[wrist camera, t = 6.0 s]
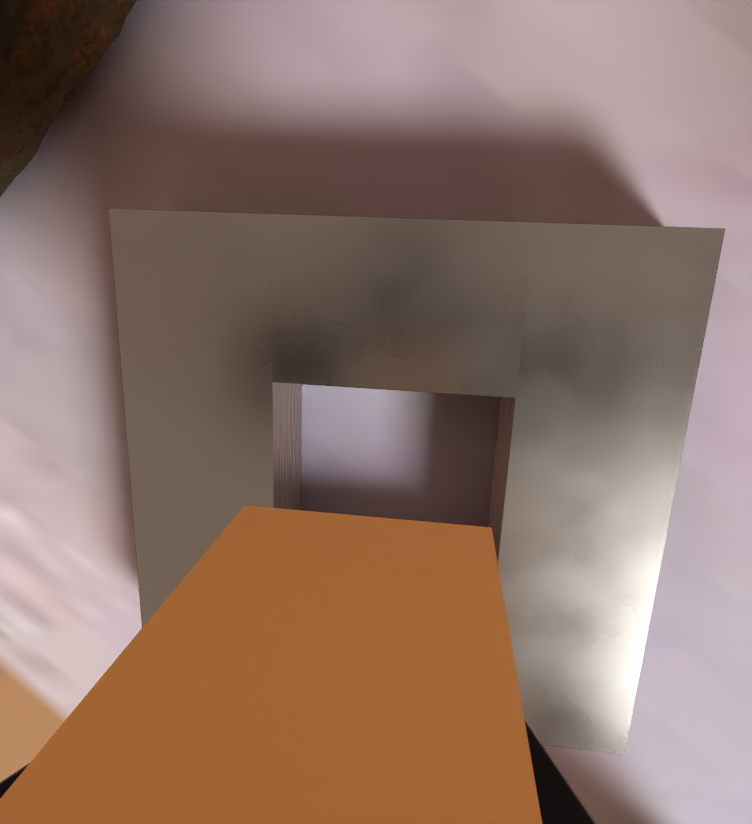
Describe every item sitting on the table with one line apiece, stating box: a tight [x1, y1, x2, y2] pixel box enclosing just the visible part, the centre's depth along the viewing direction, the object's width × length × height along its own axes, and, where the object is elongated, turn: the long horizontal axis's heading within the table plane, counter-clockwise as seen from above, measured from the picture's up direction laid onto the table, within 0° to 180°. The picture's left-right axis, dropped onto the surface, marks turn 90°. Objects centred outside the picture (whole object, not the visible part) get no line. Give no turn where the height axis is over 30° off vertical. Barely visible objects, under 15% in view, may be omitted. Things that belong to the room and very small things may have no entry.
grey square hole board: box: [109, 209, 725, 755], centre depth 16 cm, size 14×14×3 cm
